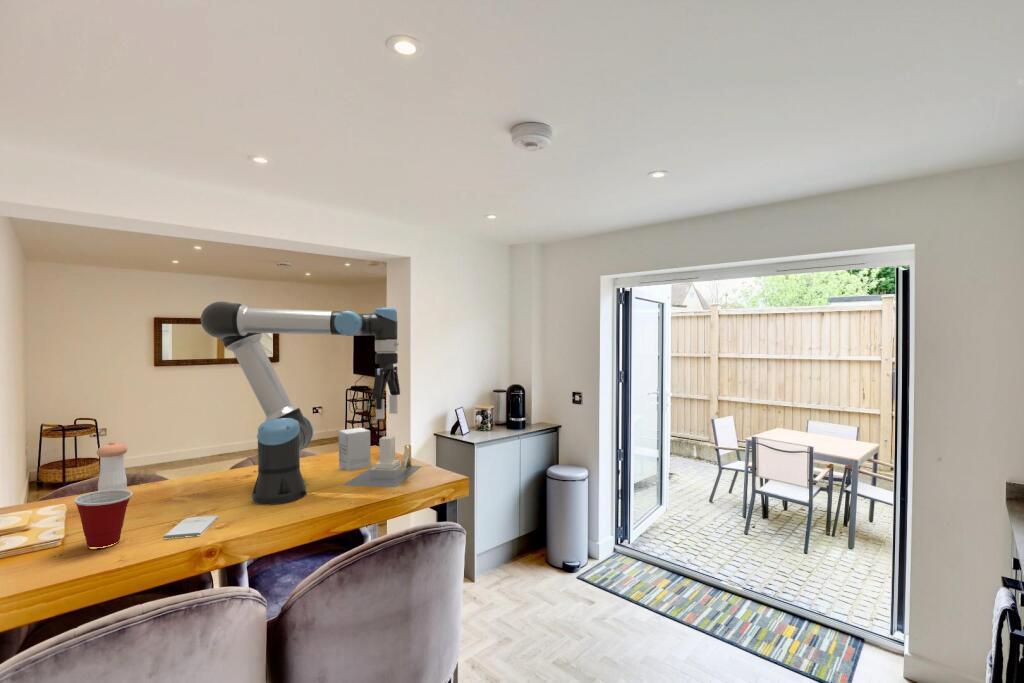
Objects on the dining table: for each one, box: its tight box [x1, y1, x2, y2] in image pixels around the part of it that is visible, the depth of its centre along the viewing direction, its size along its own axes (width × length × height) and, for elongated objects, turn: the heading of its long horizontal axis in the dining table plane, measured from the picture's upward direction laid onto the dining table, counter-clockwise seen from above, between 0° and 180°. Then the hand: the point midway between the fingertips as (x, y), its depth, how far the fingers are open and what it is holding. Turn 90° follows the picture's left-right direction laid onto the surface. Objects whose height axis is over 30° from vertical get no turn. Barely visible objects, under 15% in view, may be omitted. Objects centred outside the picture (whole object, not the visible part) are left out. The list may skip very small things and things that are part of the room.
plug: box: [374, 435, 401, 469], centre depth 170 cm, size 6×6×13 cm
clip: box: [400, 444, 412, 470], centre depth 170 cm, size 2×25×7 cm, turn 8°
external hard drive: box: [162, 515, 219, 538], centre depth 127 cm, size 2×8×12 cm
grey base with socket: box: [343, 462, 422, 488], centre depth 170 cm, size 18×26×4 cm
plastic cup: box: [73, 489, 134, 547], centre depth 117 cm, size 11×11×12 cm
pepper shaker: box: [96, 440, 128, 491], centre depth 144 cm, size 7×7×19 cm
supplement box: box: [338, 427, 372, 471], centre depth 182 cm, size 9×9×15 cm
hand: (387, 416), depth 170 cm, fingers open, 11 cm apart
